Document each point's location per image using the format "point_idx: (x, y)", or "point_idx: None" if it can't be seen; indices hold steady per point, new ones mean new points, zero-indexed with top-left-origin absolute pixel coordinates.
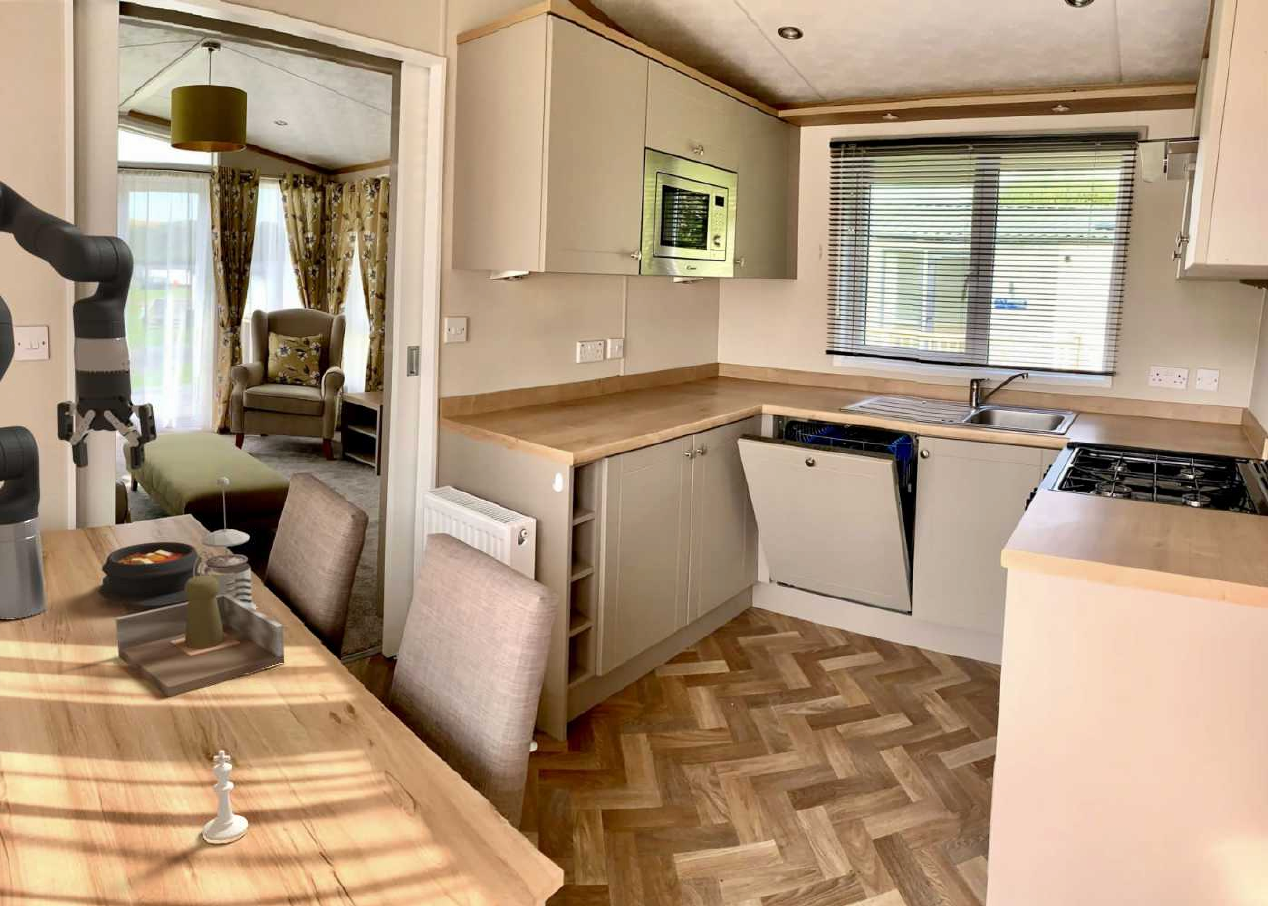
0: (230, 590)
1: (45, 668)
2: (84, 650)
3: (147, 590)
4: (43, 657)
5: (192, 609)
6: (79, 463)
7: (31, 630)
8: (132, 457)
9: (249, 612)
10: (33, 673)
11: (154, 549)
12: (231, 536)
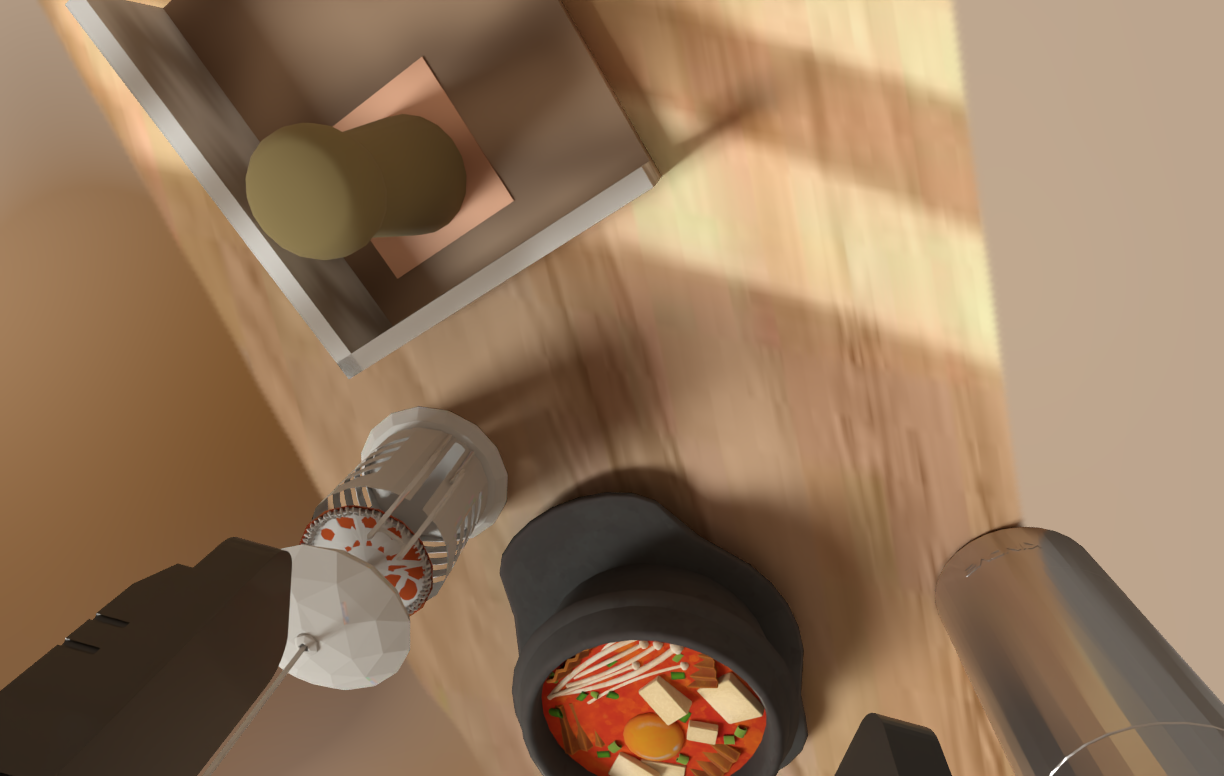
0: (427, 552)
1: (861, 112)
2: (771, 246)
3: (650, 574)
4: (882, 210)
5: (376, 144)
6: (905, 752)
7: (951, 438)
8: (159, 637)
9: (227, 183)
10: (891, 74)
11: None
12: None
